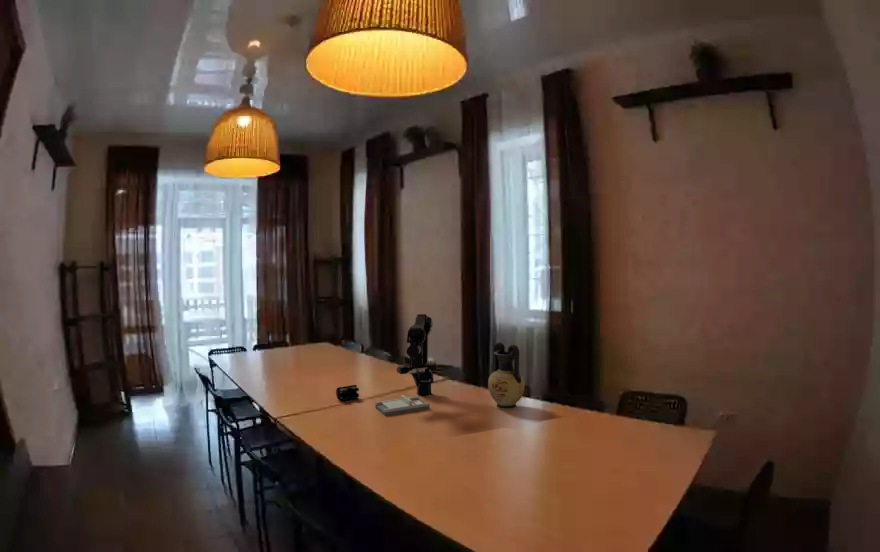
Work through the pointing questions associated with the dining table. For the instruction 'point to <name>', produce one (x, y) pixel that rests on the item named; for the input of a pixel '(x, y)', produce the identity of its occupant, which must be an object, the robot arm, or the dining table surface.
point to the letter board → (415, 406)
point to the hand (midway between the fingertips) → (417, 386)
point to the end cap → (347, 393)
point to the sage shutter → (398, 402)
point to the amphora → (506, 377)
